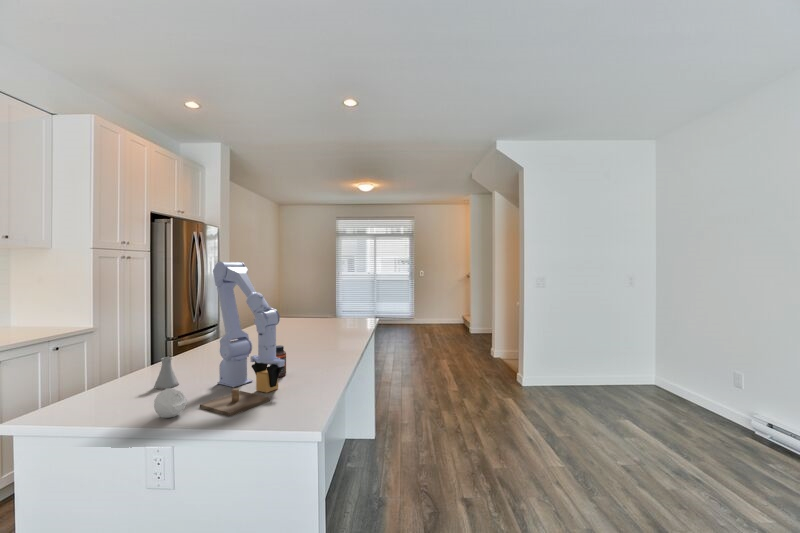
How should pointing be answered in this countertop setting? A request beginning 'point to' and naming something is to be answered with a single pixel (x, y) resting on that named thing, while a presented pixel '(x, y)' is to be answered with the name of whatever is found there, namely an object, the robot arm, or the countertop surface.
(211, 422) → the countertop surface
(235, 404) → the flat brown square board
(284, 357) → the supplement bottle
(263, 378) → the golden yellow cube
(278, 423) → the countertop surface
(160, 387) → the flask
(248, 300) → the robot arm
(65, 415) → the countertop surface
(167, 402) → the white ridged ball
